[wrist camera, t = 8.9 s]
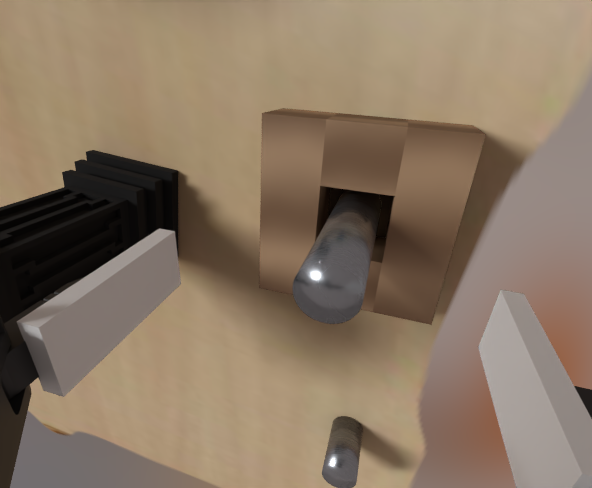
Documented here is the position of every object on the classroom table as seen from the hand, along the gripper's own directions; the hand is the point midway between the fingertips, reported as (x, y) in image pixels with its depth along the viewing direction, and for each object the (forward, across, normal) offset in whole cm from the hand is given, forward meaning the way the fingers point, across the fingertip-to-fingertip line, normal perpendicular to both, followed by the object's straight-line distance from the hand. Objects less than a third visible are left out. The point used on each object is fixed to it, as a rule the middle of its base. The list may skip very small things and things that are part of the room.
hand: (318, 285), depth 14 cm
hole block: (+12, 0, -1) cm, 12 cm away
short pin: (+12, +2, -24) cm, 26 cm away
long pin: (+12, 0, -1) cm, 12 cm away
